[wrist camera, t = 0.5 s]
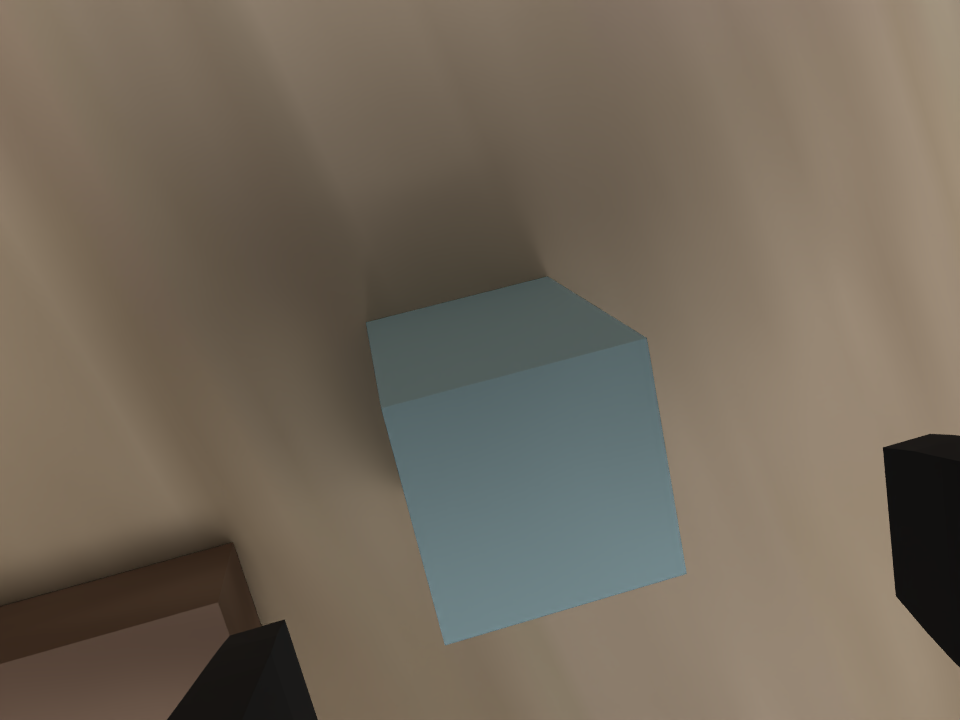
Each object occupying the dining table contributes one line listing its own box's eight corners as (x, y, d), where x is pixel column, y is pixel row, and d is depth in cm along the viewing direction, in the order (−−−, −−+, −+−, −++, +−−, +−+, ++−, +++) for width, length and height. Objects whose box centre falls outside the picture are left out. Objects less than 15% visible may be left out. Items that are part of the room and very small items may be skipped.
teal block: (581, 445, 19) (686, 573, 13) (411, 492, 19) (445, 645, 13) (547, 276, 18) (646, 338, 12) (365, 322, 18) (381, 408, 12)
